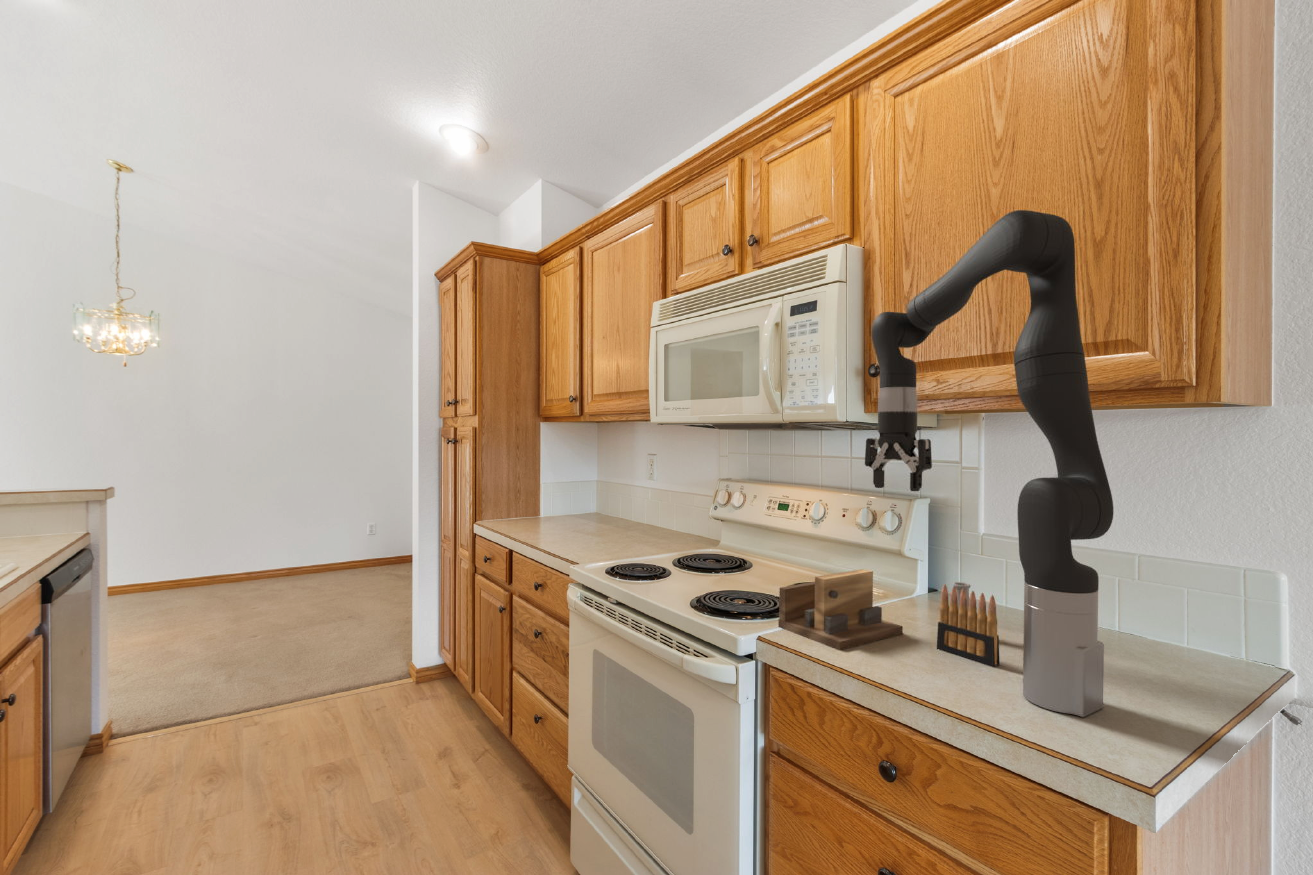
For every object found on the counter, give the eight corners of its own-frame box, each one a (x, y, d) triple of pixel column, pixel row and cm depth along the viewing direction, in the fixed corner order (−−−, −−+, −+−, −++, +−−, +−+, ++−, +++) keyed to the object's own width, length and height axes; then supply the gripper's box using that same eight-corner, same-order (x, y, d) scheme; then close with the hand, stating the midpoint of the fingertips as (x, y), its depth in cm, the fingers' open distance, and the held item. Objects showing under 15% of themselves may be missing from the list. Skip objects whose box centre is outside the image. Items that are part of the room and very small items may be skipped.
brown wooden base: (902, 633, 124) (903, 593, 124) (839, 650, 114) (839, 606, 114) (839, 613, 137) (839, 576, 137) (778, 626, 128) (778, 587, 128)
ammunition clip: (999, 665, 107) (1000, 595, 107) (993, 667, 106) (994, 597, 106) (942, 647, 116) (943, 582, 116) (936, 648, 115) (937, 583, 115)
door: (876, 621, 126) (877, 572, 126) (827, 632, 119) (828, 580, 119) (862, 617, 129) (863, 568, 129) (814, 628, 122) (814, 576, 122)
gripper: (940, 409, 124) (939, 491, 124) (880, 411, 136) (879, 485, 136) (916, 409, 120) (915, 493, 120) (857, 410, 132) (856, 487, 132)
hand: (896, 489), depth 128 cm, fingers open, 8 cm apart
